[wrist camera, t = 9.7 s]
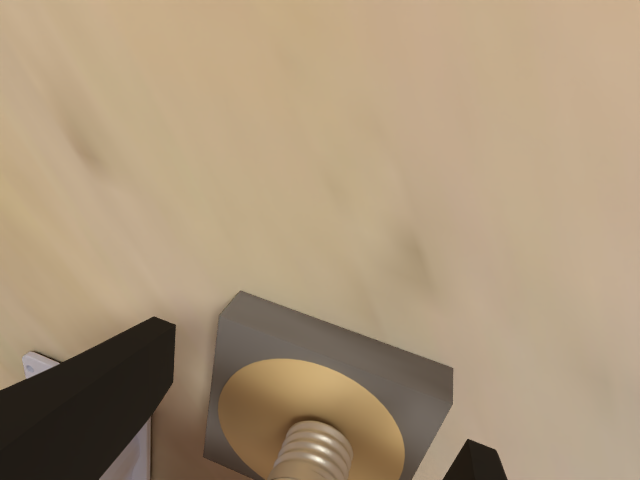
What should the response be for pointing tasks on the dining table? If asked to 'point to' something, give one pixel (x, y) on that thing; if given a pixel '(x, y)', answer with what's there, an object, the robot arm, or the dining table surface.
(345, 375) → the charcoal base
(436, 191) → the dining table surface
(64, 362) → the robot arm
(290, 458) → the lightbulb
